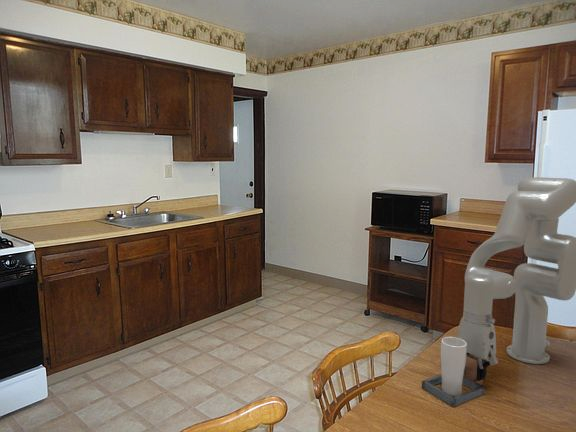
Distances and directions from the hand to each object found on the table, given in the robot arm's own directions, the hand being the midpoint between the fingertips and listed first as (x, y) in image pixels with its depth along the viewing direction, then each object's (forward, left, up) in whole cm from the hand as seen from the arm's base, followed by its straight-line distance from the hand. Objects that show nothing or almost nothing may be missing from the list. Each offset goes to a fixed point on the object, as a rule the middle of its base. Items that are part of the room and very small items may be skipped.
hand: (473, 375), depth 122 cm
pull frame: (+7, 0, -2) cm, 7 cm away
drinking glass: (+10, 0, -2) cm, 10 cm away
